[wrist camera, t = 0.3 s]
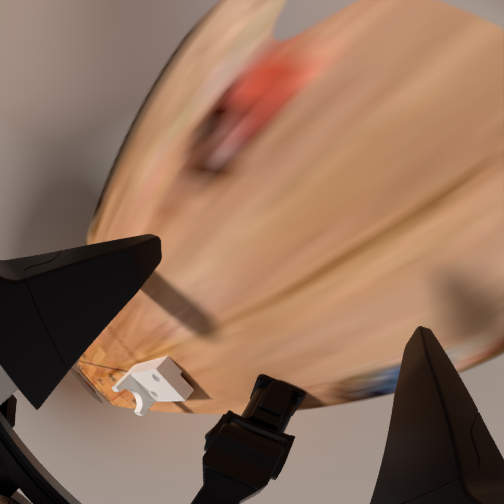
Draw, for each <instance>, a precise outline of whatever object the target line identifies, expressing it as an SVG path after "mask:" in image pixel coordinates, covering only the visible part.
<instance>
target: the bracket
mask: <svg viewBox="0 0 504 504" xmlns="http://www.w3.org/2000/svg"><path fill="white" fill-rule="evenodd" d="M181 373H182V371H181V370H180V369H179V368H178V367H177V365H176V364H175V363H174V362H173V361H172V360H171V359H170V357H169V356H165V357H161V358H158V359H154V360H150V361H146V362H142V363H139V364H135V365H134V366H133V367H132V368H131V369H130V370H129V371H128V372H127V373H126V374H125V375H124V376H123V377H122V378H121V379H120V380H119V381H118V382H117V383H116V384H115V385H114V386H113V387H112V389H113V390H114V392H120V391H121V390H123V389H127V390H129V391H131V392H132V393H133V394H134V396H135V398H136V401H137V406H136V409H135V411H134V412H135V413H136V414H137V415H141V416H143V415H144V414H145V413H146V412H147V411H148V409H149V408H150V407H151V406H152V405H153V404H154V403H155V401H186V400H187V399H188V397H189V396H190V395H191V393H192V392H193V391H194V389H193V388H192V387H191V386H190V385H189V384H188V383H187V382H186V381H185V380H184V379H183V377H182V376H181V375H180V374H181Z"/></svg>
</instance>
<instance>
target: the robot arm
mask: <svg viewBox="0 0 504 504" xmlns="http://www.w3.org/2000/svg"><path fill="white" fill-rule="evenodd" d="M161 259H162V252H161V240H160V238H159V237H158V236H155V235H152V234H146V235H140V236H135V237H129V238H123V239H118V240H112V241H107V242H102V243H96V244H91V245H86V246H81V247H76V248H71V249H66V250H63V251H62V250H61V251H56V252H51V253H46V254H40V255H34V256H28V257H22V258H16V259H10V260H0V504H31V502H32V503H33V504H81V503H80V502H79V501H78V500H77V499H76V498H74V497H73V496H72V495H71V494H70V493H69V492H68V491H67V490H66V489H65V488H64V487H63V486H62V485H61V484H60V483H59V482H58V481H57V480H56V479H55V478H54V477H53V476H52V475H51V474H50V473H49V472H48V471H47V470H46V469H45V468H44V467H43V465H42V464H41V463H40V462H39V461H38V460H37V459H36V458H35V456H34V455H33V454H32V453H31V452H30V451H29V449H28V448H27V447H26V446H25V444H24V443H23V442H22V441H21V439H20V438H19V437H18V435H17V434H16V433H15V431H14V430H13V429H12V428H13V427H14V425H15V413H16V402H17V399H16V398H15V396H14V395H13V393H14V392H16V390H18V389H19V390H20V391H21V392H22V394H23V395H24V396H25V397H26V398H27V399H28V401H29V402H30V403H31V404H32V405H33V406H34V407H35V409H36V410H38V409H39V408H40V407H41V406H42V404H43V403H44V402H45V400H46V399H47V398H48V396H49V395H50V394H51V393H52V391H53V390H54V389H55V387H56V386H57V385H58V384H59V383H60V381H61V380H62V379H63V378H64V376H65V375H66V374H67V372H68V370H70V369H71V367H72V366H73V365H74V364H75V363H76V361H77V360H78V359H79V358H80V357H81V355H82V354H83V353H84V352H85V351H86V350H87V348H88V347H89V346H90V345H91V344H92V343H93V341H94V340H95V339H96V338H97V337H98V336H99V334H100V333H101V332H102V331H103V330H104V329H105V328H106V326H107V325H108V324H109V323H110V322H111V321H112V320H113V319H114V317H115V316H116V315H117V314H118V313H119V312H120V311H121V310H122V309H123V307H124V306H125V305H126V304H127V303H128V302H129V301H130V300H131V299H132V298H133V297H134V295H135V294H136V293H137V292H138V291H139V289H140V288H141V287H142V286H143V284H144V283H145V282H146V280H147V279H148V278H149V276H150V275H151V274H152V273H153V271H154V270H155V269H156V267H157V266H158V265H159V263H160V262H161ZM305 395H306V393H305V392H303V391H301V390H298V389H296V388H293V387H291V386H288V385H286V384H283V383H281V382H278V381H276V380H274V379H271V378H269V377H267V376H264V375H261V374H260V375H259V376H258V377H257V380H256V383H255V386H254V388H253V391H252V394H251V397H250V402H249V403H248V405H247V407H246V409H245V410H244V412H243V414H242V415H241V416H240V415H237V414H235V413H233V412H232V411H230V410H229V411H228V412H227V413H226V414H223V416H222V417H221V419H220V420H219V422H218V423H217V424H216V425H215V426H214V427H213V428H212V429H211V430H210V431H209V432H208V433H207V434H206V435H205V439H206V443H205V447H204V450H205V451H206V453H205V454H204V456H203V459H202V460H203V481H204V482H203V483H204V484H203V486H202V488H201V489H200V491H199V492H198V494H197V495H196V497H195V498H194V500H193V501H192V503H191V504H240V503H242V502H244V501H246V500H248V499H250V498H251V497H253V496H255V495H257V494H258V493H260V492H261V491H262V490H263V489H264V488H265V486H266V485H267V484H268V482H269V480H270V479H273V480H276V478H277V477H278V475H279V474H280V472H281V470H282V468H283V466H284V464H285V461H286V459H287V457H288V454H289V452H290V449H291V447H292V444H293V441H294V439H295V436H292V435H291V436H290V435H288V434H285V433H284V431H285V429H286V427H287V425H288V422H289V420H290V418H291V416H293V414H294V413H295V411H296V410H297V408H298V407H299V405H300V404H301V402H302V401H303V399H304V398H305ZM18 488H20V489H21V491H22V492H23V493H24V494H25V496H26V497H27V498H28V499H29V500H30V501H31V502H29V501H28V500H27V499H26V498H25V497H24V496H23V495H21V494H20V493H18V492H17V489H18ZM370 504H504V459H503V457H502V455H501V453H500V452H499V450H498V448H497V446H496V444H495V442H494V440H493V438H492V437H491V435H490V433H489V431H488V429H487V427H486V425H485V423H484V421H483V419H482V417H481V415H480V413H479V412H478V409H477V407H476V405H475V403H474V401H473V399H472V398H471V396H470V394H469V392H468V390H467V388H466V387H465V385H464V383H463V382H462V380H461V378H460V376H459V374H458V373H457V371H456V369H455V367H454V366H453V364H452V362H451V361H450V359H449V358H448V356H447V354H446V353H445V351H444V349H443V348H442V346H441V345H440V343H439V342H438V340H437V338H436V337H435V335H434V334H433V332H432V331H431V330H430V329H429V328H425V327H422V326H419V327H418V328H417V329H416V330H415V332H414V333H413V335H412V336H411V338H410V340H409V341H408V343H407V344H406V347H405V349H404V353H403V359H402V363H401V368H400V373H399V377H398V382H397V386H396V390H395V395H394V402H393V408H392V415H391V420H390V426H389V431H388V437H387V441H386V446H385V451H384V455H383V459H382V464H381V467H380V471H379V475H378V479H377V482H376V486H375V489H374V493H373V496H372V499H371V502H370Z"/></svg>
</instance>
